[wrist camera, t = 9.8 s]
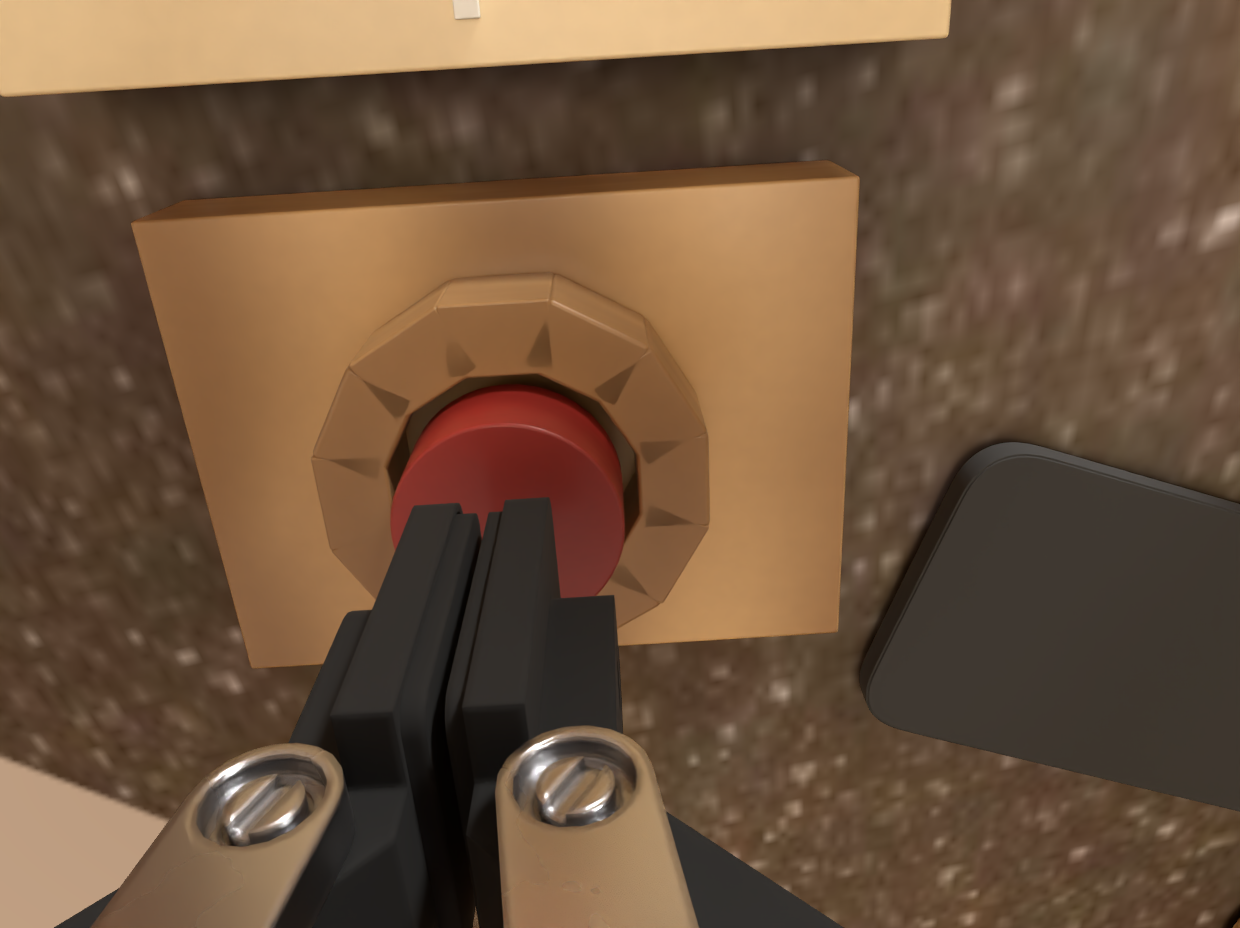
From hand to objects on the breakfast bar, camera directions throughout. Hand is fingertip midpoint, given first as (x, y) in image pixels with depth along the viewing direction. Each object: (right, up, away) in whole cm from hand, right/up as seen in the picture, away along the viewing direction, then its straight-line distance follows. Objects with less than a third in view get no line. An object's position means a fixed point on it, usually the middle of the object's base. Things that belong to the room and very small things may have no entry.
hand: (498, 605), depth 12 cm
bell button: (0, +1, +4) cm, 4 cm away
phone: (+15, -2, +10) cm, 18 cm away
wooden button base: (0, +3, +7) cm, 8 cm away
